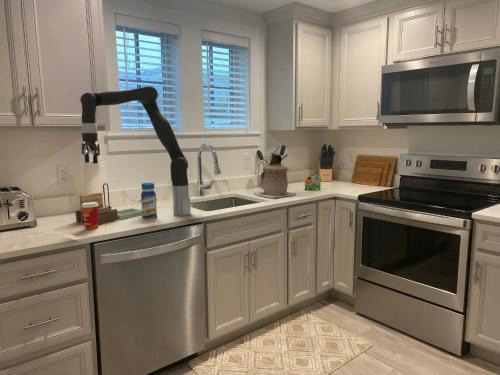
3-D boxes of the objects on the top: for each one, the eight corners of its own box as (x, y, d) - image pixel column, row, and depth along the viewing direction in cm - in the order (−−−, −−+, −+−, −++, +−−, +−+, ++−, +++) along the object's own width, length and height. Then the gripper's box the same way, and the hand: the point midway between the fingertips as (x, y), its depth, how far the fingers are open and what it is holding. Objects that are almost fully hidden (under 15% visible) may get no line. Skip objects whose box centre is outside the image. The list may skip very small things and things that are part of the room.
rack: (118, 222, 200) (117, 209, 199) (91, 228, 188) (90, 214, 187) (102, 219, 209) (101, 206, 208) (76, 224, 197) (75, 210, 196)
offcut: (107, 219, 201) (106, 207, 200) (90, 223, 193) (89, 211, 192) (105, 219, 202) (104, 207, 202) (87, 222, 195) (86, 210, 194)
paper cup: (81, 230, 184) (79, 203, 182) (98, 228, 189) (96, 201, 187) (85, 234, 178) (83, 205, 176) (102, 231, 182) (100, 203, 180)
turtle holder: (326, 188, 306) (327, 174, 305) (314, 191, 294) (314, 176, 292) (314, 187, 315) (314, 173, 313) (301, 190, 302) (301, 175, 300)
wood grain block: (103, 218, 204) (102, 193, 202) (84, 222, 195) (82, 195, 193) (100, 217, 206) (99, 192, 204) (81, 221, 197) (79, 195, 195)
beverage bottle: (159, 217, 211) (158, 182, 208) (153, 220, 203) (151, 184, 200) (145, 217, 213) (144, 182, 210) (139, 220, 205) (136, 184, 202)
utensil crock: (298, 195, 276) (298, 152, 271) (271, 199, 262) (271, 153, 257) (277, 191, 296) (276, 150, 291) (251, 194, 282) (250, 152, 277)
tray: (145, 216, 213) (144, 210, 213) (120, 222, 201) (120, 215, 200) (132, 214, 221) (132, 207, 220) (108, 219, 208) (107, 212, 208)
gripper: (103, 132, 195) (105, 163, 197) (89, 132, 204) (91, 162, 206) (89, 132, 189) (91, 164, 191) (76, 132, 198) (77, 162, 200)
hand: (91, 163), depth 199 cm, fingers open, 8 cm apart
